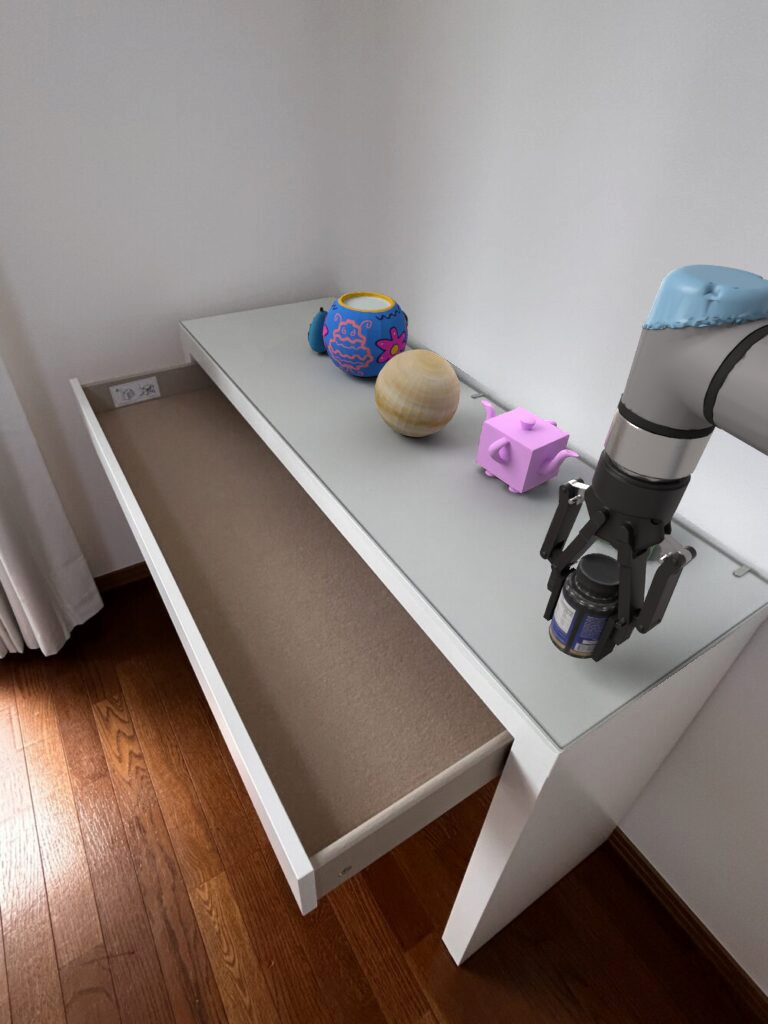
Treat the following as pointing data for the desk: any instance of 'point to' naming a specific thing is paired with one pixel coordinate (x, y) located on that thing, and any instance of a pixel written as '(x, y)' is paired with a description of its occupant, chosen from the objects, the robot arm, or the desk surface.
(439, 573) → the desk surface
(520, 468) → the teapot
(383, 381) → the decorative ball
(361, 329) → the ceramic pot
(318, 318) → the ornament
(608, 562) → the pill bottle
